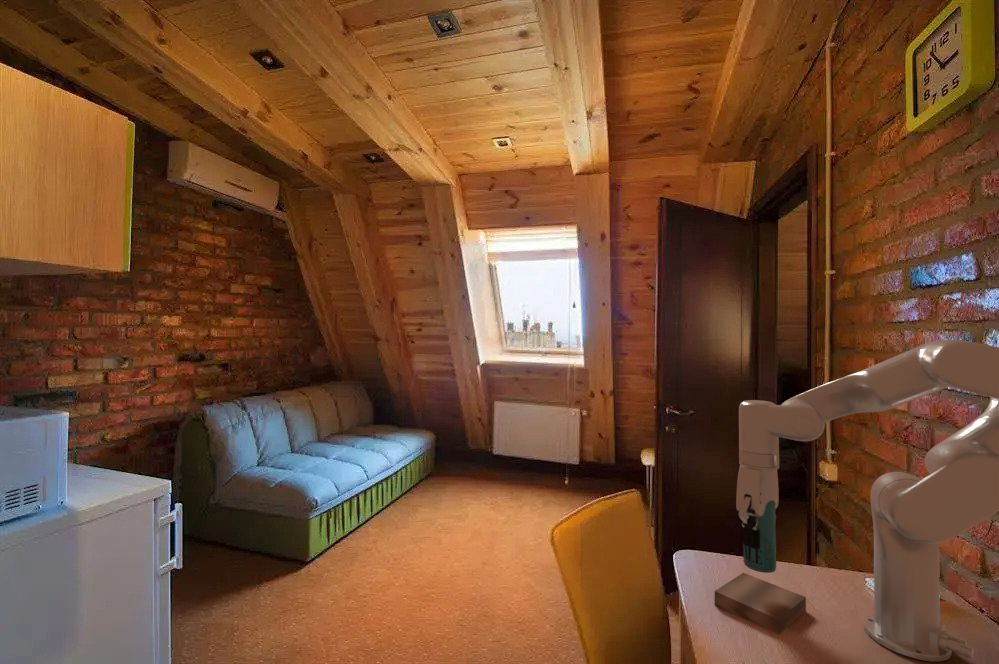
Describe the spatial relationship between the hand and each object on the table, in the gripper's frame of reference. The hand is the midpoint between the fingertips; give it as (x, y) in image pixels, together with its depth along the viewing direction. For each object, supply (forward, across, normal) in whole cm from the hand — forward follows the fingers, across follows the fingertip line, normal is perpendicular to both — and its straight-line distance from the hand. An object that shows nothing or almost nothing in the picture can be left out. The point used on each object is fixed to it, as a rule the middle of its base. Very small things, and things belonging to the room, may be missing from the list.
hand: (759, 541), depth 101 cm
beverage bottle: (+7, 0, 0) cm, 7 cm away
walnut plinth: (+14, 0, 0) cm, 14 cm away
